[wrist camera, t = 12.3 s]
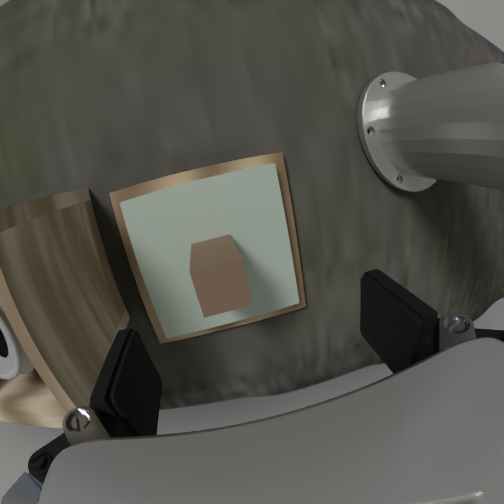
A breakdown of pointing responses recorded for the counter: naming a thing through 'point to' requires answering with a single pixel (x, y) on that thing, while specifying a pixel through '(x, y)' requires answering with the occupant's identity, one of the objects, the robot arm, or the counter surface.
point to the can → (11, 351)
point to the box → (56, 305)
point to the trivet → (193, 176)
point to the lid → (213, 249)
